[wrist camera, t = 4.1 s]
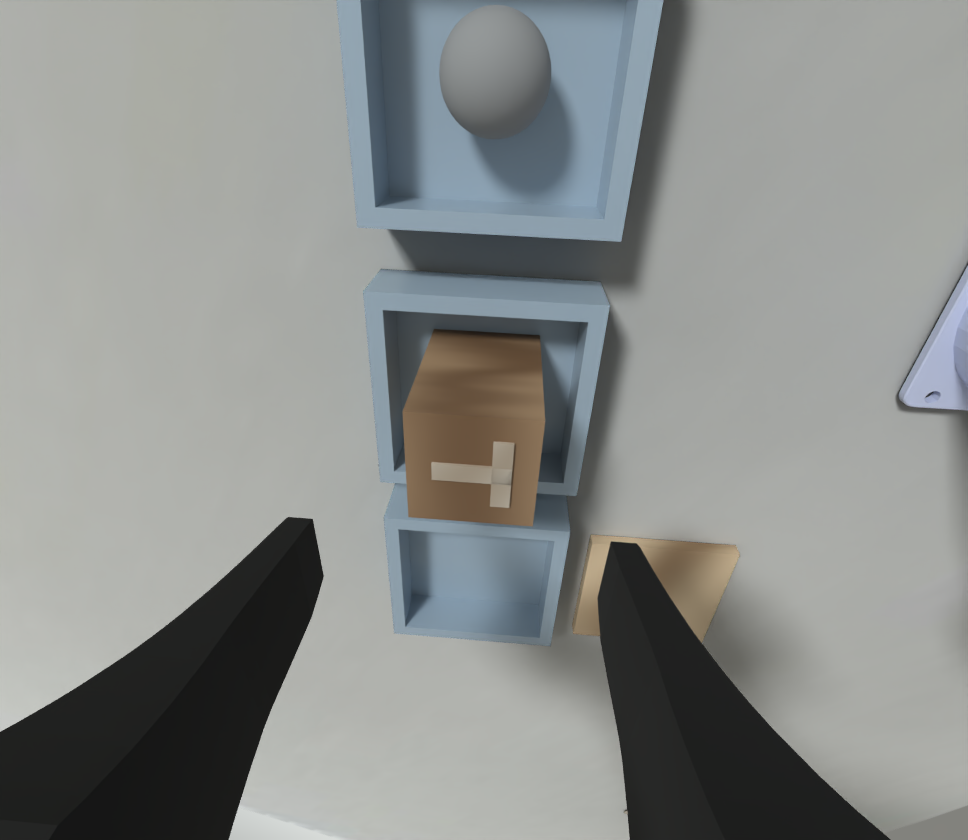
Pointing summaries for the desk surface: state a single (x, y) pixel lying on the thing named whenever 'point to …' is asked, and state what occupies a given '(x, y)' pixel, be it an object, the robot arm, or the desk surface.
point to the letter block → (475, 428)
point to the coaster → (663, 578)
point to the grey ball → (495, 72)
